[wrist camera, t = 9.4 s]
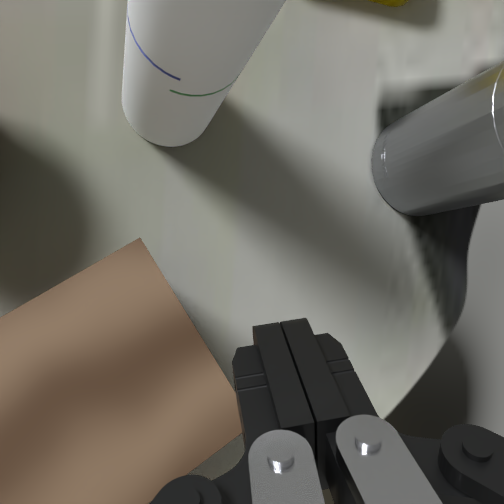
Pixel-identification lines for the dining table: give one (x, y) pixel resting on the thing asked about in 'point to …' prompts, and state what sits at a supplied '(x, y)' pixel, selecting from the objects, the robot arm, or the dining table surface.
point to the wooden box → (107, 389)
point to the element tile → (391, 2)
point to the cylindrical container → (186, 61)
